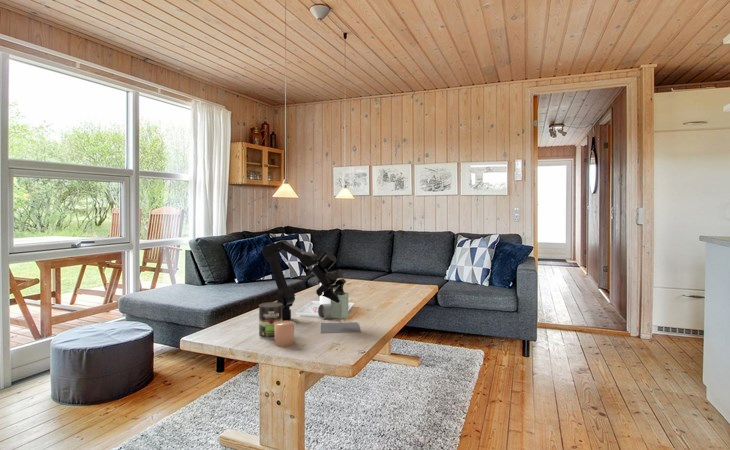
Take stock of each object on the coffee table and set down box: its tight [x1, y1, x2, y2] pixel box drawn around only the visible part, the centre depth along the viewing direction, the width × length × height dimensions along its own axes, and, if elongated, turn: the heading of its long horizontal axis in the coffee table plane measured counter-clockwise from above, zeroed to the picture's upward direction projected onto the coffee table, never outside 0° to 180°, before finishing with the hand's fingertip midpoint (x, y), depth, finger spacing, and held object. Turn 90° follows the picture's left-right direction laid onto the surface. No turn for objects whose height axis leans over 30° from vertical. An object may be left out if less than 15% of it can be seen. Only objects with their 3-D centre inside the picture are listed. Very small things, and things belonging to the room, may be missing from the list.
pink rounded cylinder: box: [274, 320, 295, 348], centre depth 169 cm, size 8×8×9 cm
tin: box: [330, 291, 350, 320], centre depth 191 cm, size 6×6×11 cm
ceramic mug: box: [317, 303, 333, 320], centre depth 211 cm, size 11×8×8 cm
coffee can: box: [258, 301, 283, 339], centre depth 180 cm, size 10×10×14 cm
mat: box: [320, 321, 361, 334], centre depth 191 cm, size 18×16×1 cm
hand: (342, 300), depth 190 cm, fingers closed on tin, 6 cm apart
